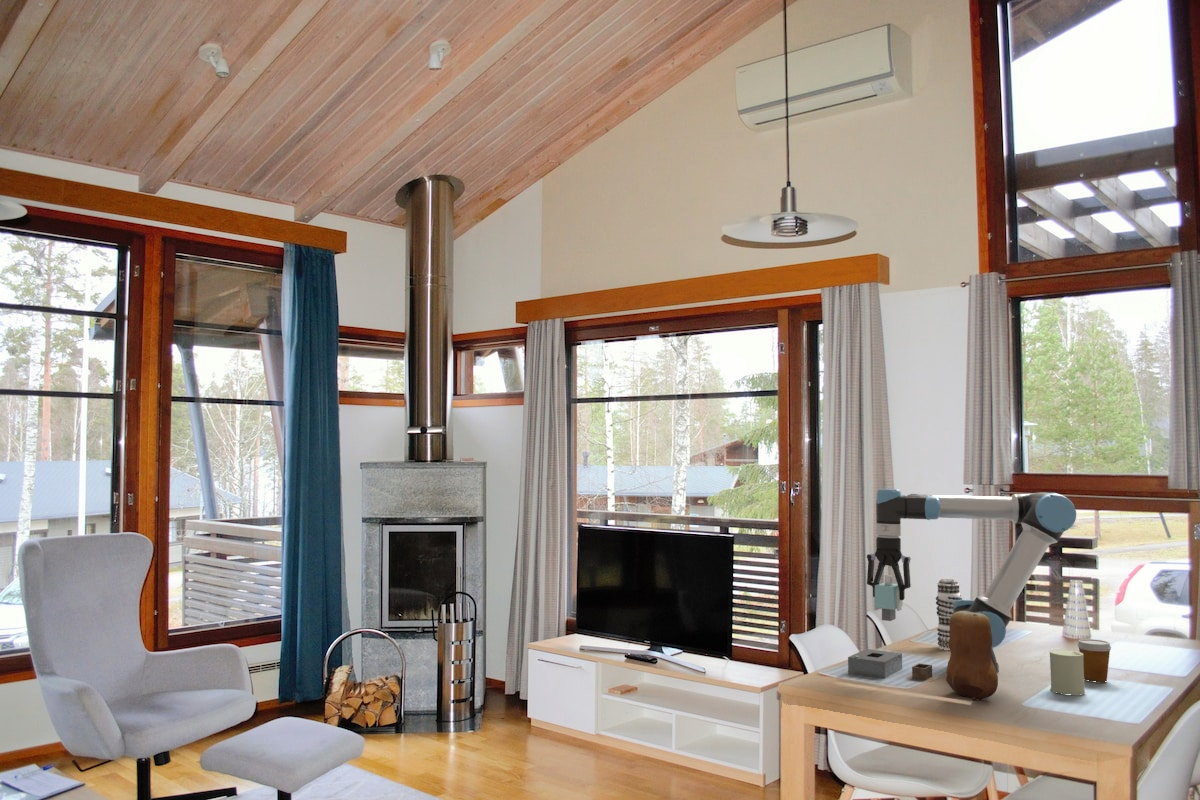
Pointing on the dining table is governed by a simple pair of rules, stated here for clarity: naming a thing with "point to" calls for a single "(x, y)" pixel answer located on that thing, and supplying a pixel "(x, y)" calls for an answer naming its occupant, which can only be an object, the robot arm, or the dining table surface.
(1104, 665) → the disposable coffee cup
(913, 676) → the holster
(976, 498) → the robot arm
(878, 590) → the teal and white block
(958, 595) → the decorative candle
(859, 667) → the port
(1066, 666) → the can
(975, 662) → the butternut squash
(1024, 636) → the dining table surface
